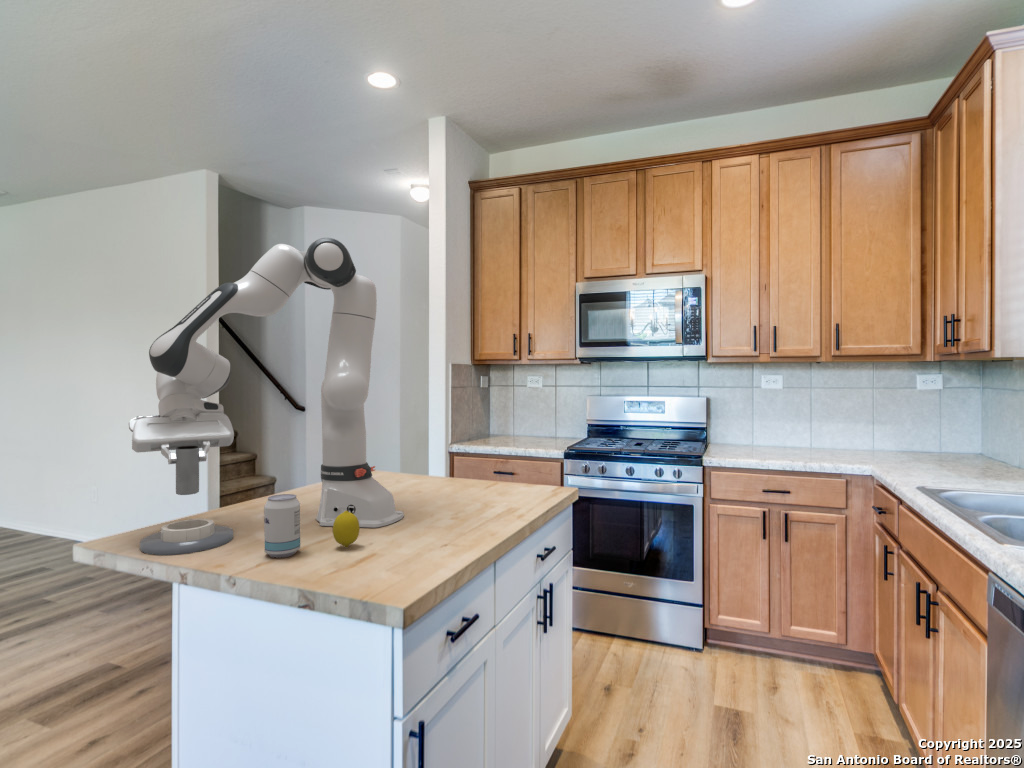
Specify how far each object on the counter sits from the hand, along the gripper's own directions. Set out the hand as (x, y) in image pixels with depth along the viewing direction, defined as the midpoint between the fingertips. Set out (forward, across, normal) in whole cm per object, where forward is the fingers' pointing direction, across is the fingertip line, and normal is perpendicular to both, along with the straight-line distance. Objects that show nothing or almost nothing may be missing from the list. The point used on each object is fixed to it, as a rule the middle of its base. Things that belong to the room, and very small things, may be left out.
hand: (187, 461), depth 125 cm
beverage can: (+28, +14, -2) cm, 32 cm away
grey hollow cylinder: (+5, 0, +6) cm, 8 cm away
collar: (+13, 0, +13) cm, 18 cm away
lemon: (+31, +27, -5) cm, 41 cm away
